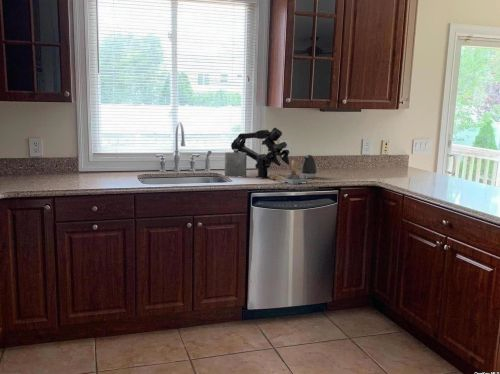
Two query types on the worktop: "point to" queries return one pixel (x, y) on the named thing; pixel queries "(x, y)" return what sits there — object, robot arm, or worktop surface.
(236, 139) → the robot arm
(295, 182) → the tray
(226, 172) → the flask
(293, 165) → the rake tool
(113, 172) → the worktop surface
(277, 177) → the slot board
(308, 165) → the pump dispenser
